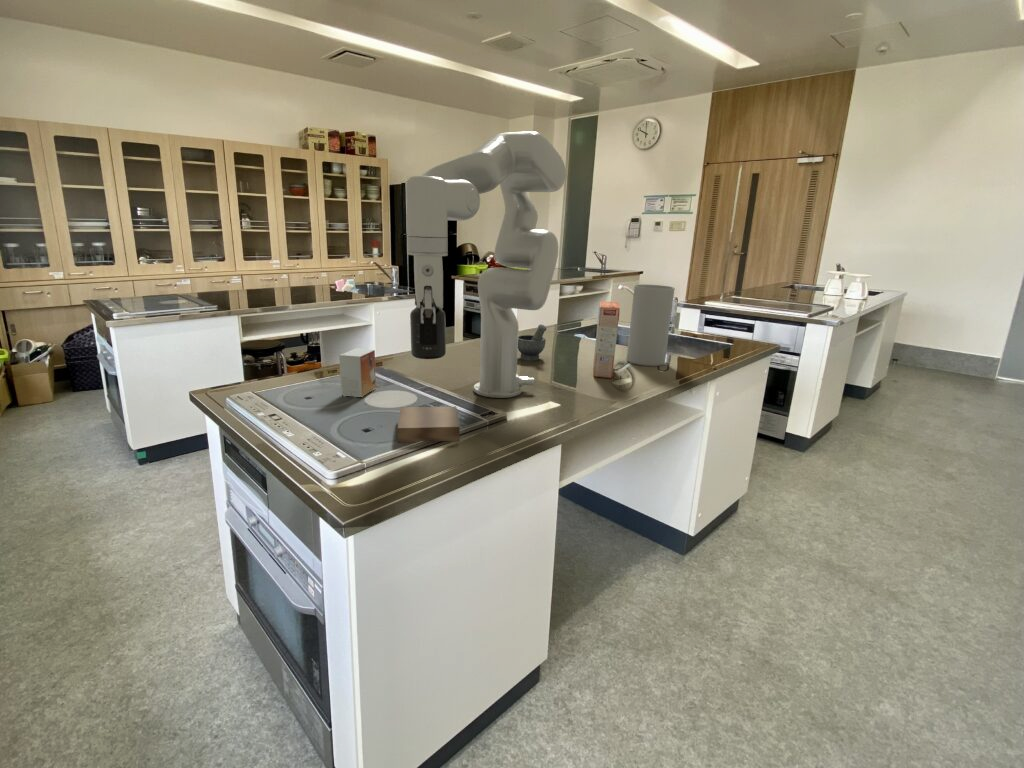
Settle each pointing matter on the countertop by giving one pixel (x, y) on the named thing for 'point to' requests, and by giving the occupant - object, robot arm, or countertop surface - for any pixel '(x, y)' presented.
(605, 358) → the cracker box
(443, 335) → the supplement bottle
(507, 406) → the countertop surface
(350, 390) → the small box
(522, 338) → the mortar and pestle
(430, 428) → the walnut base
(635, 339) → the cylinder vase
